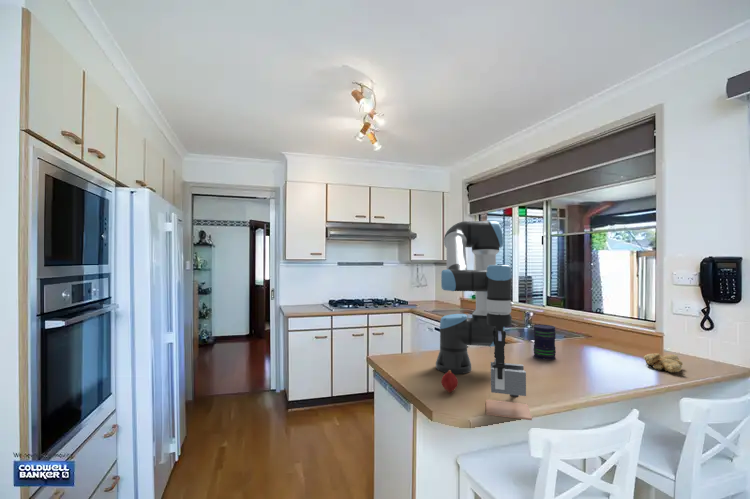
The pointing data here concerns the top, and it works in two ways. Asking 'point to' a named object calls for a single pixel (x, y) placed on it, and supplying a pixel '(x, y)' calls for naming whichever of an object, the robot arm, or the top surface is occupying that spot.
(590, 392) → the top surface
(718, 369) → the top surface
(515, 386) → the c link
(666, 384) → the top surface
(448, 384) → the onion
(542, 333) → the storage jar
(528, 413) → the tile
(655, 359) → the ginger root
